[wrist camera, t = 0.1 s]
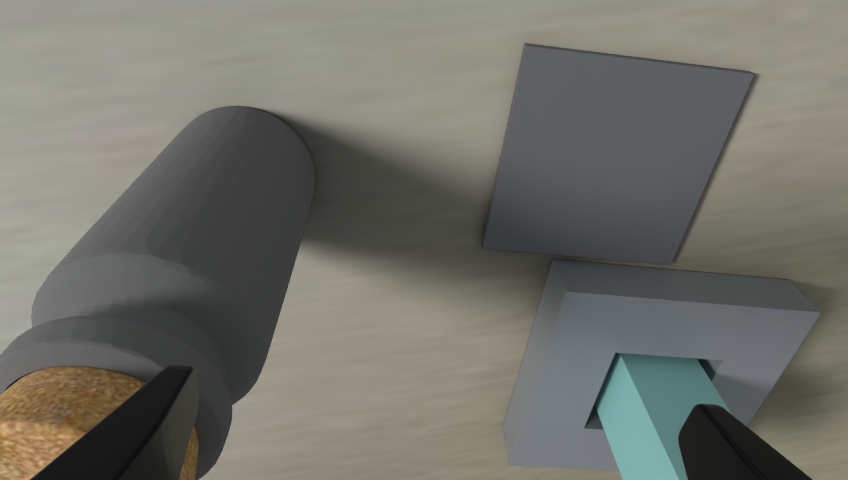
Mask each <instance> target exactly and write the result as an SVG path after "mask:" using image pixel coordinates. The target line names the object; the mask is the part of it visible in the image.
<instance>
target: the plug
mask: <svg viewBox="0 0 848 480" xmlns="http://www.w3.org/2000/svg"><path fill="white" fill-rule="evenodd" d="M594 404H595V407H596V409H597V412H598V415H599V417H600V420H601V423H602V425H603V428H604V431H605V434H606V436H607V439H608V442H609V444H610V447H611V450H612V452H613V455H614V458H615V460H616V463H617V466H618V468H619V471H620V474H621V476H622V479H623V480H688V479H687V475H686V471H685V467H684V464H683V460H682V456H681V452H680V448H679V444H678V435H679V432H680V429H681V428H682V426H683V424H684V422H685V421H686V419H687V417H688V416H689V414H690V412H691V410H692V409H693V407H694V406H695V405H697V404H713V405H719V406H721V407H723V408H724V409H725V410H727V411H728V412H729V413H730V414H731V412H730V411H729V409H728V408H727V406H726V404H725V403H724V401H723V400H722V398H721V396H720V395H719V393H718V392H717V390H716V388H715V387H714V385H713V384H712V382H711V380H710V379H709V377H708V376H707V374H706V373H705V371H704V369H703V368H702V366H701V365H700V363H699V361H698V360H697V359H696V358H683V357H669V356H655V355H641V354H627V353H615V355H614V357H613V360H612V362H611V365H610V367H609V369H608V372H607V374H606V376H605V379H604V381H603V384H602V386H601V388H600V391H599V393H598V396H597V398H596V400H595V403H594Z"/></svg>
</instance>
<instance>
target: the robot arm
mask: <svg viewBox="0 0 848 480" xmlns="http://www.w3.org/2000/svg"><path fill="white" fill-rule="evenodd" d="M198 406H199V397H198V388H197V379H196V372H195V369H194V368H193V367H191V366H180V365H170V366H167V367H165V368H164V369H163V370H162V371H160V372H159V373H158V374H157V375H156V376H154V377H153V378H152V379H151V380H150V381H148V382H147V383H146V384H145V385H144V386H142V387H141V388H140V389H139V390H138V391H136V392H135V393H134V394H133V395H131V396H130V397H129V398H128V399H127V400H125V401H124V402H123V403H122V404H121V405H119V406H118V407H117V408H116V409H115V410H113V411H112V412H111V413H110V414H108V415H107V416H106V417H105V418H104V419H102V420H101V421H100V422H99V423H98V424H96V425H95V426H94V427H93V428H92V429H90V430H89V431H88V432H87V433H86V434H84V435H83V436H82V437H81V438H79V439H78V440H77V441H76V442H75V443H73V444H72V445H71V446H70V447H69V448H67V449H66V450H65V451H64V452H63V453H61V454H60V455H59V456H58V457H56V458H55V459H54V460H53V461H52V462H50V463H49V464H48V465H47V466H46V467H44V468H43V469H42V470H41V471H40V472H38V473H37V474H36V475H35V476H34V477H32V478H31V479H30V480H179V477H180V474H181V470H182V467H183V463H184V459H185V456H186V452H187V448H188V445H189V441H190V438H191V434H192V430H193V427H194V423H195V420H196V416H197V412H198ZM678 444H679V448H680V452H681V456H682V460H683V464H684V467H685V471H686V475H687V479H688V480H812V479H811V478H810V477H809V476H807V475H806V474H805V473H804V472H802V471H801V470H800V469H799V468H797V467H796V466H795V465H794V464H792V463H791V462H790V461H789V460H787V459H786V458H785V457H784V456H782V455H781V454H780V453H779V452H778V451H776V450H775V449H774V448H773V447H771V446H770V445H769V444H768V443H766V442H765V441H764V440H763V439H761V438H760V437H759V436H758V435H756V434H755V433H754V432H753V431H751V430H750V429H749V428H748V427H747V426H745V425H744V424H743V423H742V422H740V421H739V420H738V419H737V418H735V417H734V416H733V415H732V414H730V413H729V412H728V411H727V410H725V409H724V408H723V407H721V406H719V405H713V404H697V405H695V406H694V407H693V409H692V410H691V412H690V414H689V416H688V417H687V419H686V421H685V422H684V424H683V426H682V428H681V429H680V432H679V435H678Z"/></svg>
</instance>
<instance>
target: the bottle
mask: <svg viewBox="0 0 848 480" xmlns="http://www.w3.org/2000/svg"><path fill="white" fill-rule="evenodd" d="M315 184H316V174H315V166H314V162H313V160H312V157H311V154H310V152H309V150H308V148H307V146H306V145H305V143H304V142H303V140H302V139H301V138H300V137H299V136H298V135H297V133H296V132H295V131H294V130H293V129H292V128H291V127H289V126H288V125H287V124H286V123H284V122H283V121H281V120H279V119H278V118H276V117H275V116H273V115H271V114H268V113H266V112H264V111H261V110H257V109H253V108H249V107H240V106H230V107H221V108H217V109H213V110H211V111H208V112H206V113H204V114H202V115H200V116H198V117H197V118H196V119H194V120H193V121H192V122H191V123H190V124H188V125H187V126H186V127H185V128H184V129H183V130H182V131H181V132H180V133H179V134H178V135H177V136H176V137H175V138H174V139H173V140H172V142H171V143H170V144H169V145H168V146H167V147H166V148H165V149H164V150H163V151H162V152H161V153H160V154H159V155H158V157H157V158H156V159H155V160H154V161H153V162H152V163H151V164H150V165H149V166H148V167H147V168H146V169H145V170H144V172H143V173H142V174H141V175H140V176H139V177H138V178H137V179H136V180H135V181H134V182H133V183H132V184H131V186H130V187H129V188H128V189H127V190H126V191H125V192H124V193H123V194H122V195H121V196H120V197H119V198H118V199H117V201H116V202H115V203H114V204H113V205H112V206H111V207H110V208H109V209H108V210H107V211H106V212H105V213H104V214H103V216H102V217H101V218H100V219H99V220H98V221H97V222H96V223H95V224H94V225H93V226H92V227H91V228H90V230H89V231H88V232H87V233H86V234H85V235H84V236H83V237H82V238H81V239H80V241H79V242H78V243H77V244H76V245H75V246H74V247H73V248H72V250H71V251H70V252H69V253H68V254H67V255H66V256H65V257H64V259H63V260H62V261H61V262H60V263H59V264H58V265H57V266H56V268H55V269H54V270H53V271H52V272H51V273H50V274H49V276H48V277H47V279H46V280H45V282H44V283H43V285H42V286H41V288H40V289H39V291H38V292H37V294H36V297H35V300H34V303H33V306H32V318H31V319H32V328H31V329H29V330H27V331H26V332H24V333H23V334H21V335H20V336H18V337H17V338H16V339H15V340H14V341H13V342H12V343H11V344H10V345H9V346H8V347H7V349H6V350H5V351H4V352H3V353H2V354H1V355H0V480H30V479H31V478H32V477H34V476H35V475H36V474H37V473H38V472H40V471H41V470H42V469H43V468H44V467H46V466H47V465H48V464H49V463H50V462H52V461H53V460H54V459H55V458H56V457H58V456H59V455H60V454H61V453H63V452H64V451H65V450H66V449H67V448H69V447H70V446H71V445H72V444H73V443H75V442H76V441H77V440H78V439H79V438H81V437H82V436H83V435H84V434H86V433H87V432H88V431H89V430H90V429H92V428H93V427H94V426H95V425H96V424H98V423H99V422H100V421H101V420H102V419H104V418H105V417H106V416H107V415H108V414H110V413H111V412H112V411H113V410H115V409H116V408H117V407H118V406H119V405H121V404H122V403H123V402H124V401H125V400H127V399H128V398H129V397H130V396H131V395H133V394H134V393H135V392H136V391H138V390H139V389H140V388H141V387H142V386H144V385H145V384H146V383H147V382H148V381H150V380H151V379H152V378H153V377H154V376H156V375H157V374H158V373H159V372H160V371H162V370H163V369H164V368H165V367H167V366H170V365H180V366H191V367H193V368H194V369H195V372H196V379H197V388H198V397H199V406H198V412H197V416H196V420H195V423H194V427H193V430H192V434H191V438H190V441H189V445H188V448H187V452H186V456H185V459H184V463H183V467H182V470H181V474H180V477H179V480H198V479H200V478H201V477H203V476H204V475H205V474H206V473H207V472H208V471H209V470H210V469H211V468H212V467H213V466H214V465H215V464H216V462H217V460H218V458H219V456H220V454H221V452H222V450H223V447H224V444H225V441H226V438H227V436H228V432H229V429H230V425H231V421H232V405H233V404H235V403H236V402H237V401H239V400H240V399H241V398H243V397H244V396H245V395H246V394H247V393H248V392H249V391H250V390H251V388H252V387H253V386H254V384H255V383H256V381H257V379H258V377H259V375H260V373H261V371H262V368H263V365H264V363H265V360H266V357H267V354H268V351H269V347H270V344H271V341H272V337H273V334H274V331H275V328H276V324H277V321H278V318H279V314H280V311H281V308H282V304H283V301H284V298H285V294H286V291H287V288H288V284H289V281H290V277H291V274H292V270H293V267H294V264H295V260H296V257H297V253H298V250H299V247H300V243H301V240H302V236H303V233H304V229H305V226H306V222H307V219H308V215H309V211H310V208H311V204H312V200H313V196H314V192H315Z"/></svg>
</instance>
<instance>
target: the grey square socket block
mask: <svg viewBox="0 0 848 480" xmlns="http://www.w3.org/2000/svg"><path fill="white" fill-rule="evenodd" d="M820 314H821V312H820V311H819V310H818V309H817V308H816V307H815V306H814V305H813V304H812V303H811V302H810V301H809V300H808V299H807V298H806V297H805V296H804V295H803V294H802V293H801V292H800V291H799V290H798V289H797V288H796V287H795V286H794V284H793V283H792V282H791V281H790V280H784V279H773V278H762V277H750V276H739V275H727V274H716V273H705V272H693V271H682V270H670V269H659V268H647V267H636V266H625V265H613V264H602V263H590V262H579V261H568V260H556V259H553V260H552V263H551V266H550V270H549V273H548V276H547V280H546V283H545V286H544V290H543V293H542V296H541V300H540V303H539V306H538V310H537V313H536V316H535V320H534V323H533V326H532V330H531V333H530V336H529V340H528V343H527V346H526V350H525V353H524V356H523V360H522V363H521V366H520V370H519V373H518V376H517V380H516V383H515V386H514V390H513V393H512V396H511V400H510V403H509V406H508V410H507V413H506V416H505V420H504V423H503V426H502V429H503V435H504V440H505V446H506V451H507V456H508V462H509V465H519V466H539V467H558V468H578V469H597V470H617V471H619V468H618V466H617V463H616V460H615V458H614V455H613V452H612V450H611V447H610V444H609V442H608V439H607V436H606V434H605V431H604V428H603V425H602V423H601V420H600V417H599V415H598V412H597V409H596V407H595V404H594V403H595V400H596V398H597V396H598V393H599V391H600V388H601V386H602V384H603V381H604V379H605V376H606V374H607V372H608V369H609V367H610V365H611V362H612V360H613V357H614V355H615V353H627V354H641V355H655V356H669V357H683V358H696V359H697V360H698V361H699V363H700V365H701V366H702V368H703V369H704V371H705V373H706V374H707V376H708V377H709V379H710V380H711V382H712V384H713V385H714V387H715V388H716V390H717V392H718V393H719V395H720V396H721V398H722V400H723V401H724V403H725V404H726V406H727V408H728V409H729V411H730V412H731V414H732V415H733V416H734V417H735V418H737V419H738V420H739V421H740V422H742V423H743V424H744V425H745V426H748V425H749V423H750V422H751V420H752V418H753V417H754V415H755V414H756V412H757V411H758V409H759V408H760V406H761V405H762V403H763V402H764V400H765V398H766V397H767V395H768V394H769V392H770V391H771V389H772V388H773V386H774V385H775V383H776V382H777V380H778V379H779V377H780V375H781V374H782V372H783V371H784V369H785V368H786V366H787V365H788V363H789V362H790V360H791V359H792V357H793V355H794V354H795V352H796V351H797V349H798V348H799V346H800V345H801V343H802V342H803V340H804V339H805V337H806V336H807V334H808V332H809V331H810V329H811V328H812V326H813V325H814V323H815V322H816V320H817V319H818V317H819V316H820Z"/></svg>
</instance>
